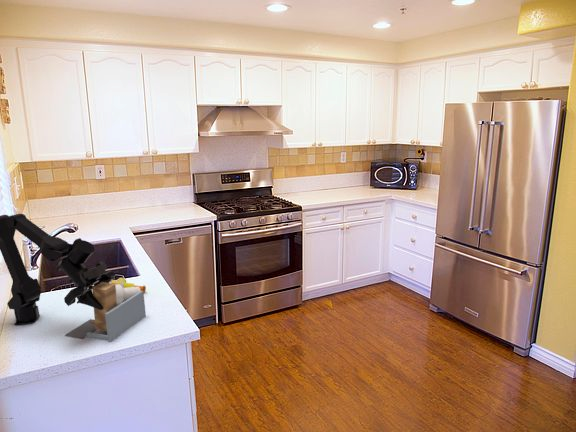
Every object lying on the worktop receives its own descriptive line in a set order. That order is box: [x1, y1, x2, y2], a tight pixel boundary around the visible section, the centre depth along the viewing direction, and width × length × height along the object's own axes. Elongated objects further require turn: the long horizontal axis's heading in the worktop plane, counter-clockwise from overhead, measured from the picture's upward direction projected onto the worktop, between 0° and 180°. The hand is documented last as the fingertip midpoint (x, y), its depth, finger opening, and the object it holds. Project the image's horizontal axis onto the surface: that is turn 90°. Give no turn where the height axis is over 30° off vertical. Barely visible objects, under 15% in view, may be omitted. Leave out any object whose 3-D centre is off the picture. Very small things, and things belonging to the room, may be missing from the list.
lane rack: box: [86, 291, 147, 343], centre depth 144 cm, size 10×19×10 cm, turn 164°
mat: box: [64, 318, 98, 340], centre depth 144 cm, size 8×12×1 cm, turn 164°
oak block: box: [90, 282, 118, 332], centre depth 140 cm, size 9×5×15 cm, turn 74°
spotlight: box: [115, 284, 141, 306], centre depth 165 cm, size 8×11×8 cm
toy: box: [109, 277, 147, 294], centre depth 176 cm, size 5×15×10 cm
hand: (107, 305), depth 139 cm, fingers closed on oak block, 5 cm apart
